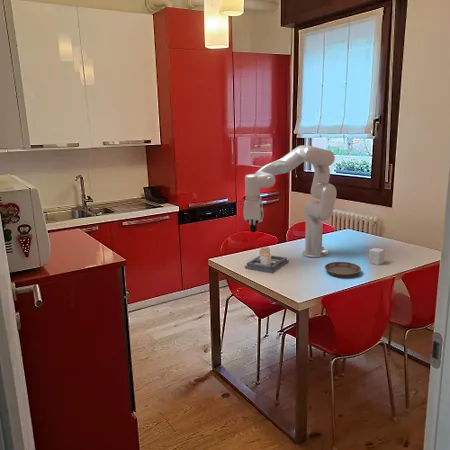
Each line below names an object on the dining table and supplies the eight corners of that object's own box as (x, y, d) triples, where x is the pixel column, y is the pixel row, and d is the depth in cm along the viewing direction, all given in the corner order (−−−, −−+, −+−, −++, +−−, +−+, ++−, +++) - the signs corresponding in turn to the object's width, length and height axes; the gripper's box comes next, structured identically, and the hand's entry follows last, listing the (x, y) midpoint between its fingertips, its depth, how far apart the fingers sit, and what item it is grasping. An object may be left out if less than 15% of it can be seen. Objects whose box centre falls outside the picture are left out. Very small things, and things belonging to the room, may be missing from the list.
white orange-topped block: (270, 258, 241) (269, 247, 240) (266, 260, 238) (266, 249, 236) (263, 257, 244) (263, 246, 242) (259, 259, 240) (259, 248, 238)
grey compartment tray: (288, 262, 239) (288, 257, 238) (272, 273, 222) (271, 267, 222) (262, 258, 247) (262, 253, 246) (245, 268, 231) (245, 263, 230)
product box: (384, 262, 233) (385, 249, 231) (378, 265, 229) (379, 252, 227) (374, 260, 237) (374, 247, 236) (368, 262, 233) (368, 249, 232)
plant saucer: (361, 280, 210) (361, 274, 209) (323, 277, 215) (323, 272, 214) (360, 268, 226) (360, 262, 226) (325, 266, 231) (325, 260, 230)
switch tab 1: (271, 265, 230) (271, 253, 229) (267, 267, 226) (267, 256, 225) (264, 264, 232) (264, 252, 231) (260, 266, 229) (260, 255, 227)
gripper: (268, 197, 225) (269, 231, 229) (243, 195, 233) (245, 228, 237) (262, 200, 219) (262, 235, 223) (236, 198, 227) (237, 232, 231)
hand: (253, 231), depth 230 cm, fingers closed
